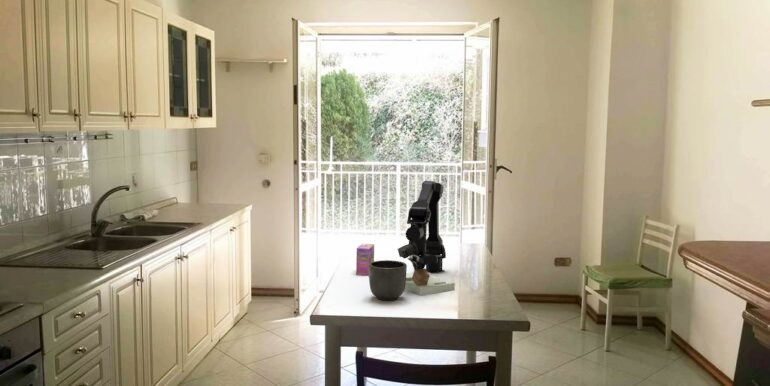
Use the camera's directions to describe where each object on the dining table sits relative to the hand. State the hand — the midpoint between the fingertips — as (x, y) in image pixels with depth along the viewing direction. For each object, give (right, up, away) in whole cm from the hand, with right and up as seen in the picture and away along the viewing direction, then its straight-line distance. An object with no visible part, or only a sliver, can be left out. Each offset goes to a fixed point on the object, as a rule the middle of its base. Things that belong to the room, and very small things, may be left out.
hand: (417, 276), depth 241 cm
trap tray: (+2, -4, +5) cm, 6 cm away
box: (-21, -2, +26) cm, 33 cm away
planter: (-12, -6, -15) cm, 20 cm away
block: (+1, -2, -2) cm, 2 cm away
